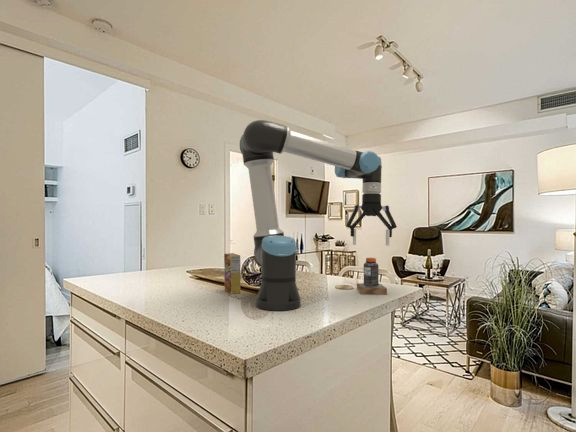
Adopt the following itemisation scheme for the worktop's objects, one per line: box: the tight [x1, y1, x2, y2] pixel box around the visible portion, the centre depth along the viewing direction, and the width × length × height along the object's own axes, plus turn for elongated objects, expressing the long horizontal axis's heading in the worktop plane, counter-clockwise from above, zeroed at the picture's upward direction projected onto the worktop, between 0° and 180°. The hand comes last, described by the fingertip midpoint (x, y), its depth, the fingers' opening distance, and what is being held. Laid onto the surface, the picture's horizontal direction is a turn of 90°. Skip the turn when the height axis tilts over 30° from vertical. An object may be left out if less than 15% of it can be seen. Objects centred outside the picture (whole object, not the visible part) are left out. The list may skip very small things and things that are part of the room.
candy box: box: [223, 252, 241, 295], centre depth 134 cm, size 9×4×15 cm, turn 28°
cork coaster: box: [334, 284, 354, 291], centre depth 144 cm, size 8×8×1 cm
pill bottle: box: [363, 257, 380, 287], centre depth 136 cm, size 6×6×11 cm
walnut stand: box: [356, 282, 388, 296], centre depth 136 cm, size 10×10×3 cm
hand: (370, 245), depth 136 cm, fingers open, 13 cm apart
